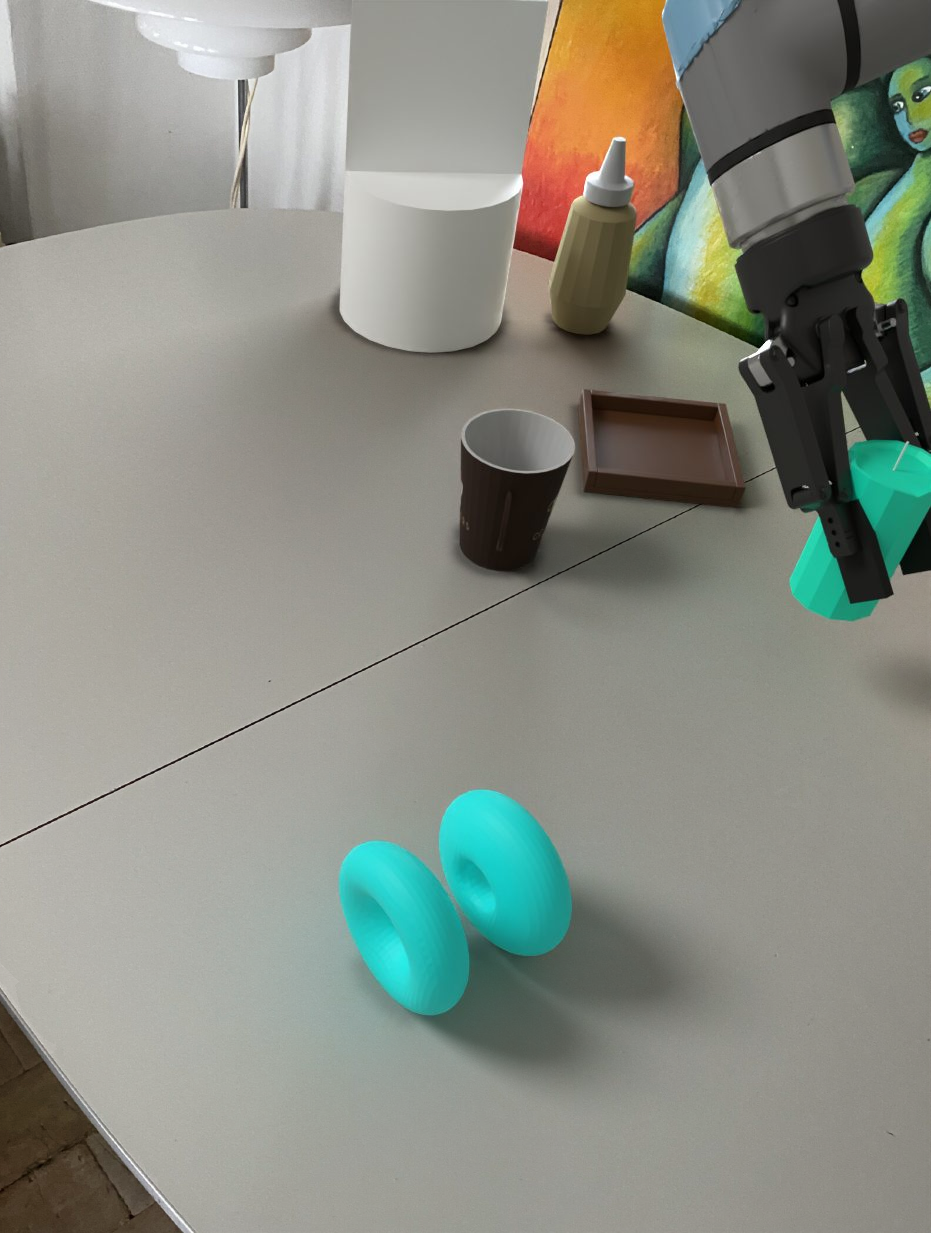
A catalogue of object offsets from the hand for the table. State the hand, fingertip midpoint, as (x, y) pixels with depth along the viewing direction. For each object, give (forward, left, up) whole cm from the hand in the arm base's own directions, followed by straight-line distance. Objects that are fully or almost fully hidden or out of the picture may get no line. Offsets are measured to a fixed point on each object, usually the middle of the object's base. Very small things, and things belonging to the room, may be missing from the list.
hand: (898, 583), depth 69 cm
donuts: (+28, +24, -11) cm, 38 cm away
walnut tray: (+11, -30, -11) cm, 33 cm away
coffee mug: (+26, -13, -11) cm, 31 cm away
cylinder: (+34, -53, -11) cm, 64 cm away
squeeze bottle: (+17, -54, -11) cm, 57 cm away
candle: (+2, -3, -4) cm, 5 cm away
